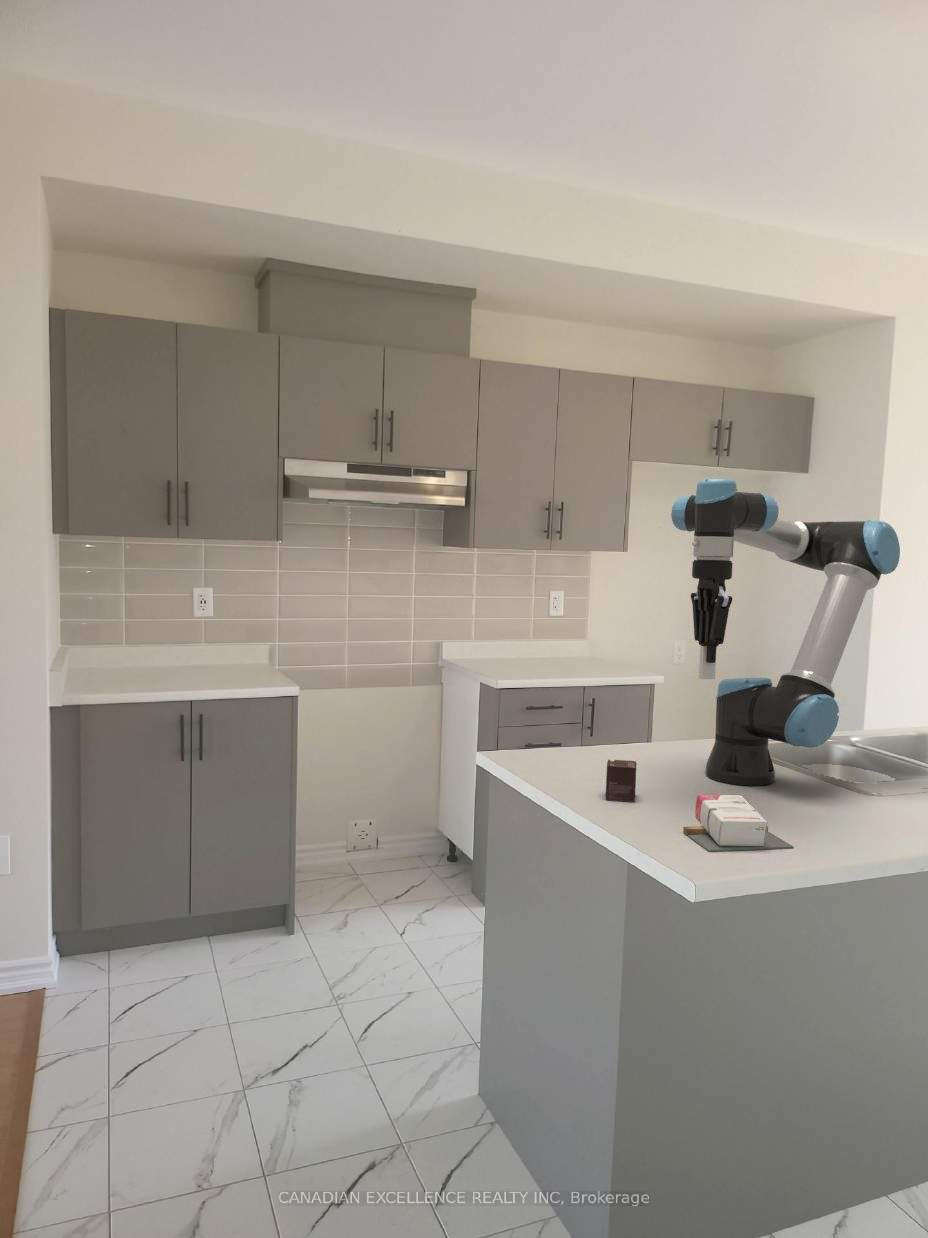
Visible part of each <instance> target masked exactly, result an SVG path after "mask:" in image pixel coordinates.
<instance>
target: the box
mask: <svg viewBox="0 0 928 1238" xmlns="http://www.w3.org/2000/svg"><path fill="white" fill-rule="evenodd" d="M636 783H637V761H636V760H623V759H622V760H621V759H607V763H606V781H605V800H606V801H612V802H613V801H616V802H629V803H635V802H636V789H637V788H636V785H637V784H636Z"/></svg>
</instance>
